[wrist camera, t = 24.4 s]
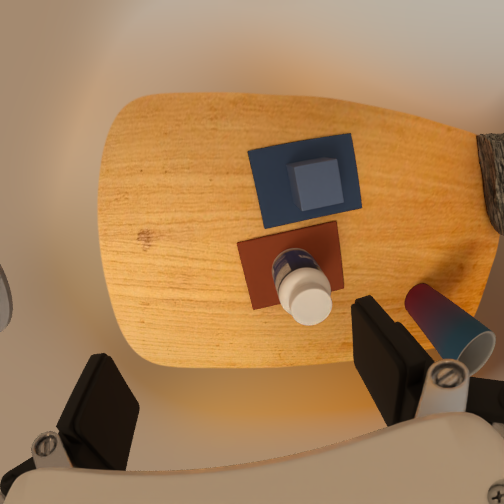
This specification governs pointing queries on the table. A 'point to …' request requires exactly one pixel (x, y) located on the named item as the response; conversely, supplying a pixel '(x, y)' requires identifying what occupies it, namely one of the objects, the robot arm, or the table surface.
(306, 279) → the pill bottle
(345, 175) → the blue mat
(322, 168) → the blue block
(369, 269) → the table surface
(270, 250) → the rust mat
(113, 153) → the table surface
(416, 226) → the table surface
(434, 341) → the cup
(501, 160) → the rock
